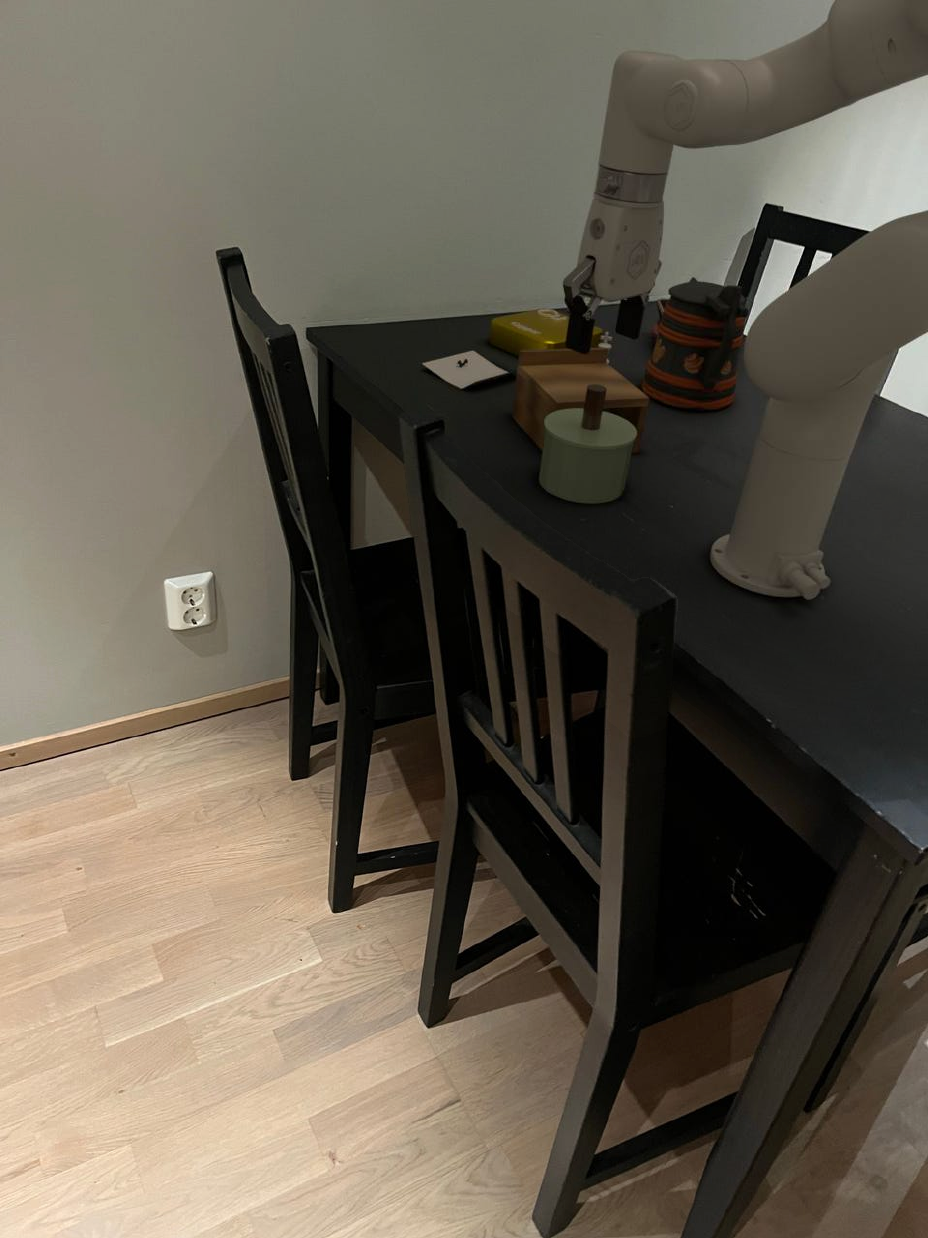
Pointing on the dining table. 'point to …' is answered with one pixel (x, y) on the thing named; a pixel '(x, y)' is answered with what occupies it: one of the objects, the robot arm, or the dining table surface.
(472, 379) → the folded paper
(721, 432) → the dining table surface
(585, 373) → the shelf
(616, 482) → the pot
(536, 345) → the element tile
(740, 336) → the beer stein
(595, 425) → the lid
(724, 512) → the dining table surface
